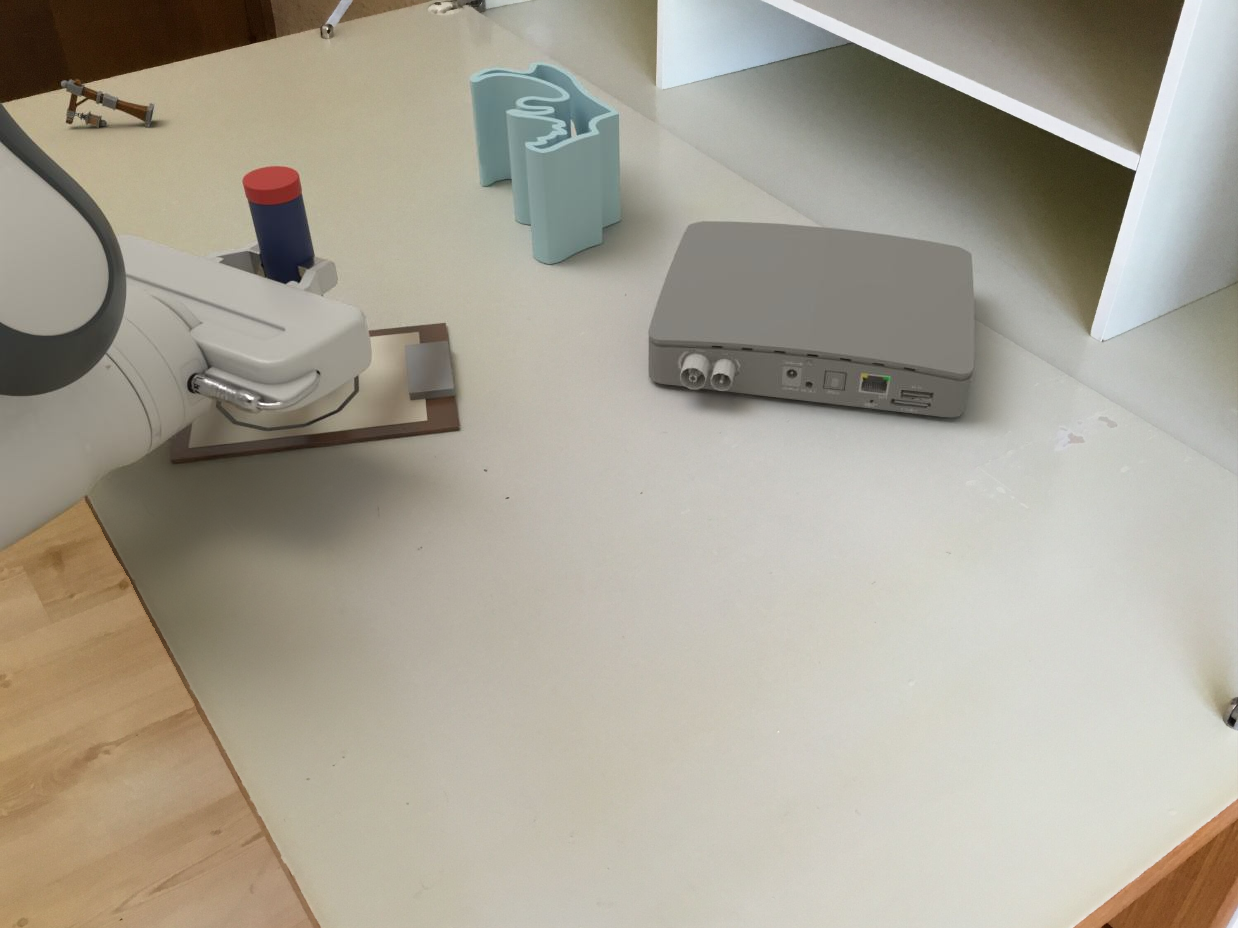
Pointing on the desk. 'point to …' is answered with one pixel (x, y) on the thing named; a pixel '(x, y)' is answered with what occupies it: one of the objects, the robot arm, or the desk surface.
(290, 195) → the marker
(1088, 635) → the desk surface
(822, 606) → the desk surface
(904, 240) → the electronic device
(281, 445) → the clipboard
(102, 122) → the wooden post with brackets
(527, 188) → the squiggly pen holder
